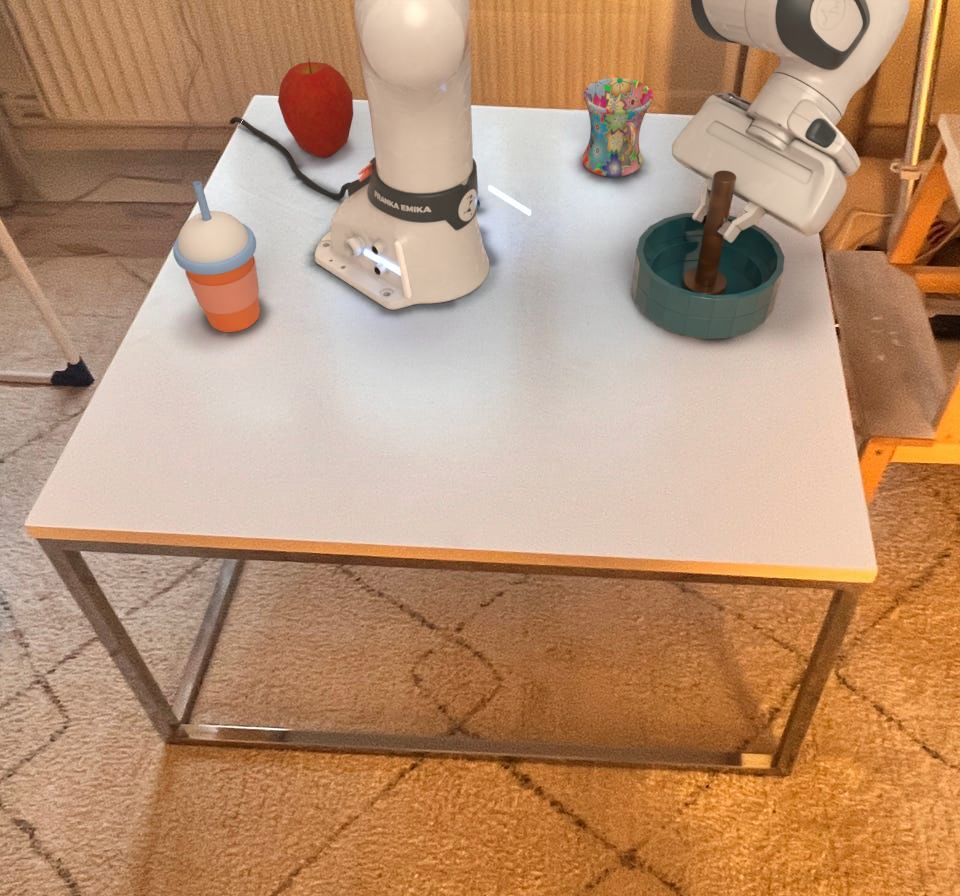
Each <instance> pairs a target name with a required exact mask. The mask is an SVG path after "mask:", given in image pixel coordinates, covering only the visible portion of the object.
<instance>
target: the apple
mask: <svg viewBox="0 0 960 896" xmlns="http://www.w3.org/2000/svg"><path fill="white" fill-rule="evenodd" d="M353 96H354V95H353V91H352V89H351V88H350V86H349V84H348V82H347V81H346V78H345V77H344V75H343V74H341V72H340V71H338V70H337V69H336V68H335V67H333V66H331V64H328V63H325V62H317V61H311V60H310V58H308V61H307V62H301V63H298V64H296V65H294V66H292V67H291V68H290V69H288V70H287V73H286V74H285V75H284V77H283V78H282V79H281V82H280V86H279V91H278V97H277V98H278V99H277V103H278V107H279V108H280V112H281V115H282V118H283V121H284V123H285V126H286V127H287V130H288V131H289V133H290V134H291V136H292V137H293V139H294V141H295V142H296V144H297V145H298V147H299V148H301V149H302V150H303V151H305V152H307V153H309V154H310V155H311V156H313V157H316V158H322V159H323V158H324V159H325V158H329V157H332V156H334V155H335V154H336V153H337V152H338V151H340V149H341V148H343V147H344V146H345V145H346V144H347V143H348V141H349V137H350V132H351V127H352V122H353V119H354V99H353Z"/></svg>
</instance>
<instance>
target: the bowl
mask: <svg viewBox="0 0 960 896" xmlns="http://www.w3.org/2000/svg"><path fill="white" fill-rule="evenodd" d="M694 213H695V212H684V213H683V212H682V213H680V214H679V213H678V214H675V215H672V216H667V217H664V218H662V219H660V220H658V221H657V222H655V223H653V224H651V225H649V226H648V227H647V229H646V230H644V232H643V233H642V234H641V236H639V238H638V242H637V245H636V249H635V257H634V266H633V272H632V280H631V281H632V282H631V292H632V293H631V294H632V297H633V300H634V304H635V305H636V306H637V308H638V309H639V310H640V312H641V313H642V314H643V315H644V316H645V317H646V318H647V319H649V320H650V321H652V322H653V323H655V324H656V325H658V326H659V327H661V328H662V329H664V330H667V331H670V332H673V333H675V334H678V335H681V336H685V337H691V338H699V339H705V340H713V339H729V338H733V337H738V336H740V335H744V334H747V333H751V332H752V331H753V330H755V329H756V328H758V327H760V326H761V325H763V324H764V323H766V321H767V320H768V318H769V317H770V315H771V314H772V312H773V311H774V308H775V303H776V300H777V296H778V292H779V289H780V285H781V283H782V278H783V274H784V269H785V258H786V257H785V255H784V252H783V250H782V248H781V246H780V243H779V242H778V241H777V240H776V239H775V238H774V237H773V236H771V234H769V232H767V231H766V230H765V229H764V228H762V227H760V226H757V225H756V224H754V225H752V226H750V227H748V228H746V229H744V230H743V231H742V230H741V231H740V233H739V234H738V236H737V237H736V238H735V240H734V241H733V242H732V243H730V242H728V241H726V240H725V239H724V242H723V247H722V252H721V257H720V262H719V267H718V271H719V272H720V273H722V274H723V275H724V276H725V278H726V280H727V285H726V290H725V293H724V295H710V294H703V293H696V292H691V291H688V290H685V289H683V287H682V286H683V280H684V276H685V274H686V273H687V272H688V271H690V270H692V269H695V268H697V265H698V259H699V254H700V248H701V243H702V237H703V232H704V226H702V225H700V224H699V223H697V222H696V221H694V220H693V219H692V216H693V214H694ZM737 218H738V217H736V216H733V215H730V214H729V218H728V221H730V222H732V221H734V220H735V219H737Z"/></svg>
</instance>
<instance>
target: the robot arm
mask: <svg viewBox="0 0 960 896" xmlns="http://www.w3.org/2000/svg"><path fill="white" fill-rule="evenodd" d="M910 2H911V1H910V0H690V9H691V14H692V16H693V18H694V19H693V20H694V21H695V23H696V25H697V27H698V28H699V29H700V31H701V32H702V33H703V34H704V35H705V36H706V37H708V38H709V39H712V40H714V41H717V42H721V43H723V42H724V43H729V44H737V45H743V46H747V47H750V48H753V49H757V50H760V51H764V52H768V53H773V54H775V55H776V56H777V57H778V58H779V60H780V61H779V65H778V66H777V67H776V68H775V69H774V70H773V72H772V74H770V76H769V78H768V79H767V80H766V82H765V83H764V85H763V86H762V87H761V89H760V90H759V92H758V94H757V95H756V97H755V98H754V99H753V100H752V101H751V100H748V99H745V98H742V97H739V96H738V95H737V94H736V93H734V92H731V91H728V90H726V91H724V92H718V93H715V94H712V95H710V96H709V97H708V98H707V99H706V100H705V102H704V103H703V104H702V106H701V107H700V109H699V111H698V112H697V113H695V115H694V116H693V117H692V118H691V119H690V120H689V121H688V123H687V124H686V125H685V126H684V127H683V128H682V130H681V131H680V133H679V134H678V135H677V136H676V138H675V139H674V141H673V142H672V144H671V156H672V158H673V159H675V161H676V162H677V163H679V164H680V165H681V166H683V167H684V168H686V169H688V170H690V171H691V172H693V173H695V174H697V175H698V176H700V177H702V178H704V179H705V181H704V182H703V183H702V185H701V191H700V198H699V205H698V207H697V208H696V209H695V211H694V212H693V213H694V214H693V216H692V219H693V220H694V221H696V222H697V223H699V224H700V225H702V226H705V220H706V215H707V209H708V204H709V198H710V193H711V187H712V182H713V176H714V174H715V173H716V172H718V171H722V170H725V171H730V172H732V173H734V174H735V175H736V183H735V188H734V193H733V196H734V197H737V198H738V199H740V200H742V201H744V202H745V203H746V204H745V206H744V207H743V211H744V212H745V213H743V214H741V215H740V216H738V217H736V218H737V219H735V220H734V221H732V222H730V221H728V220H725V221H724V222H723V223H722V227H720V228H719V229H718V231H717V234H718V235H719V236H720V237H722V238H723V239H725V240H726V241H728V242H730V243H732V242H733V241H734V240H735V238H736V237H737V236H738V234H739V233H740V231H741V230H742V231H743V230H744V229H746V228H748V227H750V226H752V225H756V224H758V223H760V221H761V220H762V218H763V217H764V215H765V214H766V215H768V216H770V217H772V218H773V219H775V220H777V221H779V222H780V223H782V224H784V225H785V226H787V227H789V228H790V229H793V230H794V231H796V232H797V233H799V234H800V235H803V236H805V237H812V236H814V235H817V234H819V233H820V232H821V231H822V230H823V229H824V228H825V227H826V226H827V224H828V223H829V221H830V220H831V219H832V217H833V215H834V214H835V212H836V211H837V209H838V207H839V206H840V203H841V202H842V200H843V198H844V196H845V194H846V192H847V188H848V180H847V178H848V177H852V176H853V175H854V174H855V173H856V172H857V171H858V169H859V168H860V167H861V159H860V158H859V155H858V153H857V151H856V150H855V148H854V147H853V146H852V144H851V142H850V141H849V140H848V138H847V137H846V136H845V135H844V133H843V132H842V131H841V129H840V128H839V127H838V126H837V125H838V124H839V122H840V121H841V120H842V118H843V117H844V116H845V113H846V110H847V108H848V105H849V103H850V101H851V99H852V98H853V97H854V95H855V94H857V92H858V91H859V90H860V89H862V88H863V87H865V85H866V84H868V83H869V82H870V80H871V78H873V75H874V74H875V73H876V71H877V70H878V69H879V67H880V66H881V64H882V63H883V61H884V60H885V59H886V57H887V55H888V54H889V52H890V51H891V49H892V47H893V46H894V44H895V42H896V41H897V39H898V37H899V36H900V34H901V31H902V29H903V28H904V25H905V23H906V20H907V18H908V15H909V11H910V7H911V6H910V5H911V3H910ZM353 8H354V9H353V10H354V11H353V18H354V19H353V20H354V27H355V33H356V41H357V46H358V54H359V59H360V67H361V72H362V77H363V82H364V83H363V84H364V88H365V93H366V98H367V102H368V109H369V115H370V118H369V119H370V126H371V135H372V141H373V149H374V157H373V158H372V159H370V160H369V164H368V165H366V166H365V167H364V168H362V169H361V170H360V171H359V172H358V176H360V175H361V176H360V177H359V178H358V179H356V180H354V181H351V182H346V183H344V184H342V186H341V187H340V190H339V192H338V193H335V192H331V191H329V190H327V189H325V188H323V187H321V186H319V185H318V184H317V183H316V182H314V181H313V180H311V178H309V177H308V176H306V175H305V174H304V173H303V172H302V171H301V170H300V169H299V167H298V166H297V164H296V161H295V159H294V158H293V155H291V153H290V151H289V150H287V148H286V147H284V146H283V145H282V143H280V142H279V141H277V140H276V139H274V138H273V137H271V136H269V135H268V134H266V133H264V132H263V131H261V130H259V129H258V128H256V127H254V126H253V125H252V124H251V123H249V122H248V121H246V120H245V119H243V118H241V117H239V116H234V117H232V118H230V120H229V124H231V125H235V124H236V123H238V124H240V123H241V121H242V120H243V121H242V123H241V124H240V125H242V126H243V127H244V128H246V129H247V130H249V131H250V132H251V133H253V134H254V135H256V136H258V137H259V138H261V139H263V140H265V141H266V142H268V143H270V144H271V145H272V146H274V147H275V148H277V150H279V151H280V152H281V153H282V154H283V155H284V156H285V157H286V160H287V161H288V163H289V165H290V167H291V169H292V171H293V172H294V173H295V175H296V176H297V177H298V178H299V179H300V180H302V181H303V182H304V183H305V184H306V185H307V186H309V187H310V188H312V190H314V191H316V192H317V193H319V194H322V195H324V196H326V197H329V198H330V199H333V200H342V199H343V198H344V197H345V195H346V192H347V195H348V197H347V198H346V199H345V200H343V201H342V202H341V203H340V204H339V206H338V207H337V209H336V210H335V211H334V213H333V215H332V218H331V221H330V230H329V231H328V232H327V233H326V234H325V235H324V236H323V237H322V238H321V240H320V241H319V243H318V244H317V245H316V246H317V247H316V249H315V252H314V262H315V263H316V264H317V265H319V266H320V267H321V268H323V269H325V270H327V271H328V272H329V273H330V274H333V275H334V276H335V277H337V278H339V279H340V280H342V281H343V282H344V283H346V284H348V285H350V286H351V287H353V288H354V289H355V290H358V291H359V292H361V293H362V294H364V295H365V296H366V297H369V299H371V300H373V301H374V302H376V303H377V304H379V305H381V306H382V307H383V308H385V309H387V310H400V309H403V308H407V307H410V306H413V305H421V304H423V305H424V304H440V303H445V302H450V301H453V300H457V299H460V298H462V297H464V296H467V295H469V294H470V293H472V292H474V291H475V290H477V288H479V287H481V285H482V284H483V283H484V281H486V278H487V277H488V276H489V273H490V268H491V267H490V260H489V256H488V254H487V251H486V249H485V245H484V242H483V238H482V233H481V230H480V225H479V219H478V209H477V202H478V200H479V185H478V183H479V181H478V168H477V162H476V160H475V159H474V153H473V150H474V149H473V123H472V122H473V121H472V119H473V118H472V117H473V116H472V13H471V4H470V0H354V7H353ZM720 97H721V98H720ZM846 177H847V178H846ZM487 187H488V191H489V192H491V193H492V194H494V195H495V196H497V197H499V198H500V199H502V200H503V201H505V202H507V203H508V204H510V205H511V206H513V207H515V208H516V209H517V210H519V211H521V212H522V213H524V214H525V215H528V216H531V215H532V209H529V208H528V207H526V206H525V205H523V204H521V203H520V202H518V201H517V200H515V199H514V198H512V197H510V196H508V195H507V194H505V193H504V192H502V191H500V190H499V189H498V188H496V187H494V186H492V185H491V184H489V185H488V186H487Z"/></svg>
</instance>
